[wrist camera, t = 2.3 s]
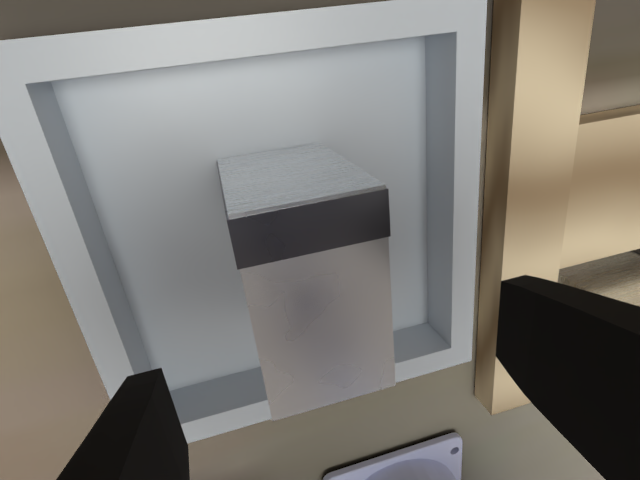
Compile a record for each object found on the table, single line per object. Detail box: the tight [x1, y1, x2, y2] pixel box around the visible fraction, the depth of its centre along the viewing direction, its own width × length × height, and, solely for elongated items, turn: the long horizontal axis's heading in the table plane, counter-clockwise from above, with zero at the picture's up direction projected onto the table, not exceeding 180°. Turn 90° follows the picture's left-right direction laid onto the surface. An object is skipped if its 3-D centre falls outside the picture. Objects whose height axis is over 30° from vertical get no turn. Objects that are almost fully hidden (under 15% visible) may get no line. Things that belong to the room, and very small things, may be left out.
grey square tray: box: [0, 0, 487, 443], centre depth 15 cm, size 14×14×2 cm
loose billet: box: [216, 142, 396, 421], centre depth 13 cm, size 4×6×6 cm, turn 7°
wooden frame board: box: [474, 0, 640, 415], centre depth 19 cm, size 22×14×2 cm, turn 7°
